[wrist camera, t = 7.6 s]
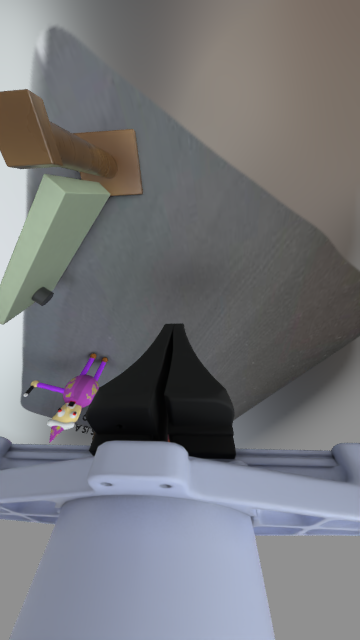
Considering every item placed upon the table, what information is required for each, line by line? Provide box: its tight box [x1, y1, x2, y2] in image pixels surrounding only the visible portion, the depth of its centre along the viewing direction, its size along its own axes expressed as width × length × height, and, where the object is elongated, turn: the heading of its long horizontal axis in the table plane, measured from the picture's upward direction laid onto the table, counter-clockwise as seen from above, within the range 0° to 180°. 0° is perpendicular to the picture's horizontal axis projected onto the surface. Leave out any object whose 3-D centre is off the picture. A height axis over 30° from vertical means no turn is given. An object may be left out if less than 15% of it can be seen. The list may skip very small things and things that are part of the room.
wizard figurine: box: [23, 353, 108, 442], centre depth 24 cm, size 11×3×12 cm, turn 66°
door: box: [0, 174, 110, 325], centre depth 15 cm, size 13×2×7 cm, turn 136°
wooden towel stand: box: [0, 89, 143, 196], centre depth 11 cm, size 4×5×10 cm
